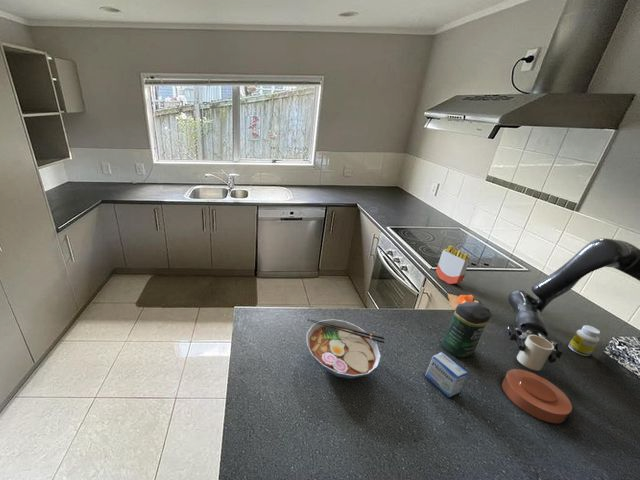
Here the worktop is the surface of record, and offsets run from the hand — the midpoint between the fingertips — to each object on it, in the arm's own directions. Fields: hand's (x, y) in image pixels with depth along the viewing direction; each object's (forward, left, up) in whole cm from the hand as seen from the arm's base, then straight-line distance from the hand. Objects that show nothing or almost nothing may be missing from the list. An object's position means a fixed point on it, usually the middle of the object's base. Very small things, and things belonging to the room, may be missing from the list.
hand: (537, 354), depth 88 cm
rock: (+18, -28, -8) cm, 34 cm away
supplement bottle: (-16, -24, -8) cm, 30 cm away
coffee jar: (+19, +4, -8) cm, 21 cm away
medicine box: (+22, +24, -8) cm, 33 cm away
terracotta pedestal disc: (0, +12, -7) cm, 14 cm away
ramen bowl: (+50, +36, -8) cm, 62 cm away
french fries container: (+26, -46, -8) cm, 54 cm away
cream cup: (0, -2, -6) cm, 6 cm away
